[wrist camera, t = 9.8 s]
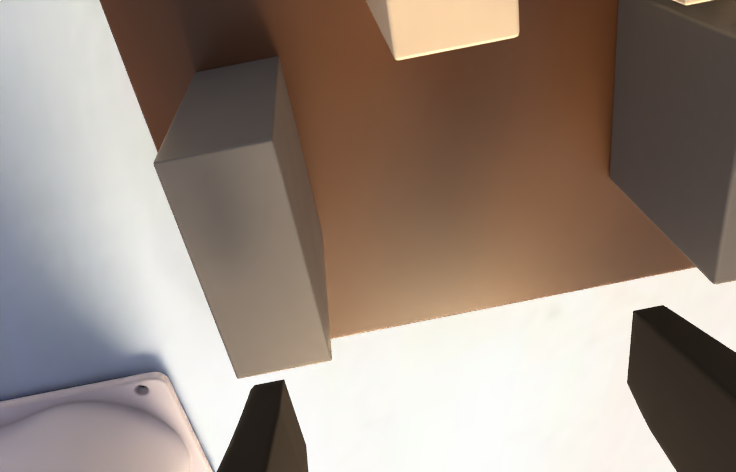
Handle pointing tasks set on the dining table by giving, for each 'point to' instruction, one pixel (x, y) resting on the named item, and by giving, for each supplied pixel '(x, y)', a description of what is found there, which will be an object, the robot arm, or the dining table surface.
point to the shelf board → (427, 148)
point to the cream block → (690, 1)
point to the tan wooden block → (443, 24)
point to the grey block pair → (298, 211)
